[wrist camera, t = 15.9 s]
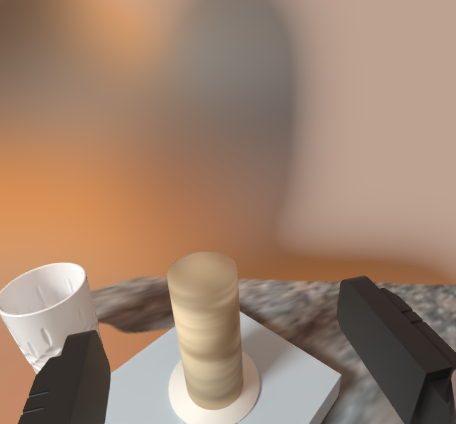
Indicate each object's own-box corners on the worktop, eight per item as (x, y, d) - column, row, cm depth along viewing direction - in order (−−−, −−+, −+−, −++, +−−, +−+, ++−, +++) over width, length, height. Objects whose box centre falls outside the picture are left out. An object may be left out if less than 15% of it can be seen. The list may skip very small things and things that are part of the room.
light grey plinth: (217, 314, 39) (215, 294, 38) (338, 396, 29) (341, 372, 28) (95, 411, 29) (86, 388, 28) (215, 588, 19) (211, 566, 18)
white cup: (73, 400, 30) (40, 324, 26) (13, 379, 33) (-26, 306, 28) (122, 337, 37) (102, 268, 33) (69, 323, 40) (44, 257, 35)
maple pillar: (215, 348, 31) (204, 244, 26) (255, 379, 28) (251, 268, 22) (175, 384, 28) (152, 274, 22) (214, 423, 25) (199, 306, 19)
